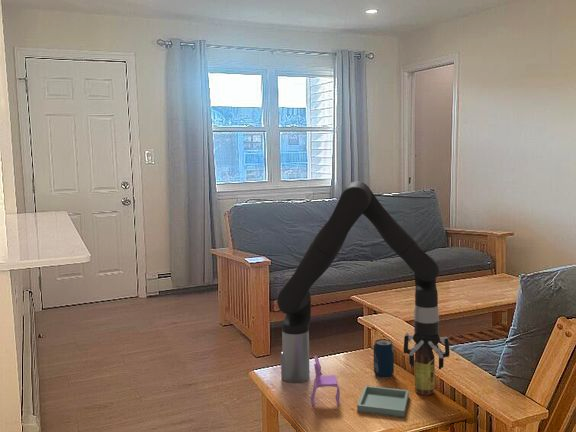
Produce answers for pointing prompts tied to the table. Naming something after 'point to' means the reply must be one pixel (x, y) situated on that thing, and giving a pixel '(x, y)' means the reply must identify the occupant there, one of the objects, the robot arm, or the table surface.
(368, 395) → the tray
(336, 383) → the chair
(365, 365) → the table surface
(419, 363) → the sauce bottle
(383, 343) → the soda can
